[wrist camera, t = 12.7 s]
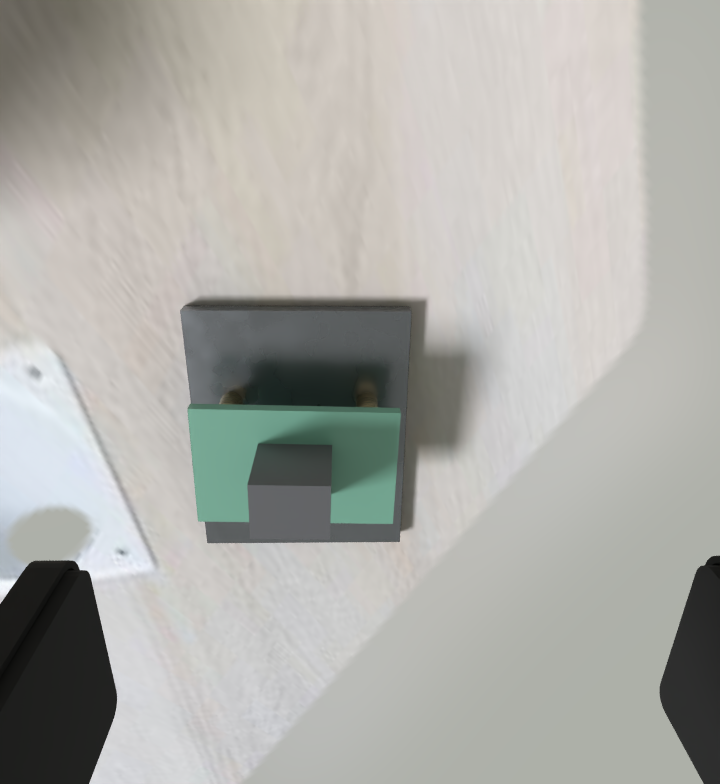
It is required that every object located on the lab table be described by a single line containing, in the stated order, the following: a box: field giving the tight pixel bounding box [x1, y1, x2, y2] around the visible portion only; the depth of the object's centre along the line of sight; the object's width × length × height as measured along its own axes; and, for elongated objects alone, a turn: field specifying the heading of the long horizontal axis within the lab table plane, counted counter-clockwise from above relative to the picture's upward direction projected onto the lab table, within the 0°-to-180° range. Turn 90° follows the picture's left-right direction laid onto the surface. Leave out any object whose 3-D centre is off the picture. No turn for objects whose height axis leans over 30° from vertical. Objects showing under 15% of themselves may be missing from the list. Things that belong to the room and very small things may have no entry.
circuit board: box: [188, 404, 401, 540], centre depth 39 cm, size 14×9×6 cm, turn 88°
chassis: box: [180, 306, 411, 543], centre depth 44 cm, size 20×16×5 cm
